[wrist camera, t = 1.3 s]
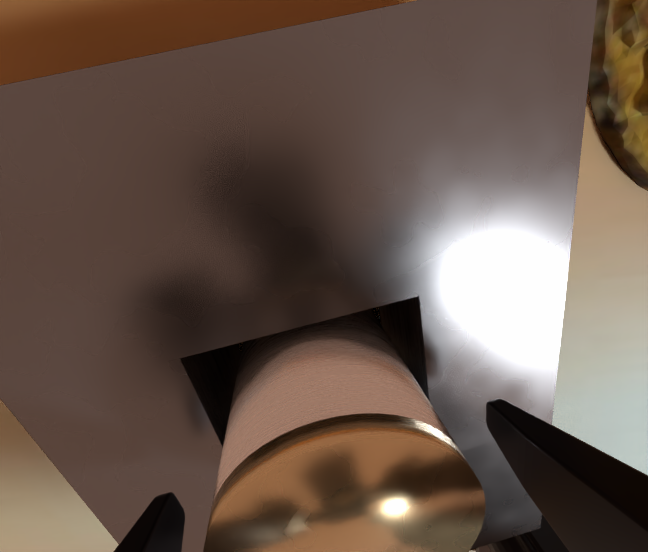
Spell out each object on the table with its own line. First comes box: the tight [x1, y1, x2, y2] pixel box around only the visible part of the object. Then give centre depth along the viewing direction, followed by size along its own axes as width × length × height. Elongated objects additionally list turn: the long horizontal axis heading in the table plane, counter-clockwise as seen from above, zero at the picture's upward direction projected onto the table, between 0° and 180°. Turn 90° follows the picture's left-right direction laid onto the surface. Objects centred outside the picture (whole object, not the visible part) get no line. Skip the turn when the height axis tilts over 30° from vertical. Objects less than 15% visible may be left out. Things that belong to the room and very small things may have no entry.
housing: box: [0, 0, 597, 552], centre depth 12 cm, size 20×16×5 cm
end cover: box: [203, 309, 486, 552], centre depth 10 cm, size 6×6×8 cm
